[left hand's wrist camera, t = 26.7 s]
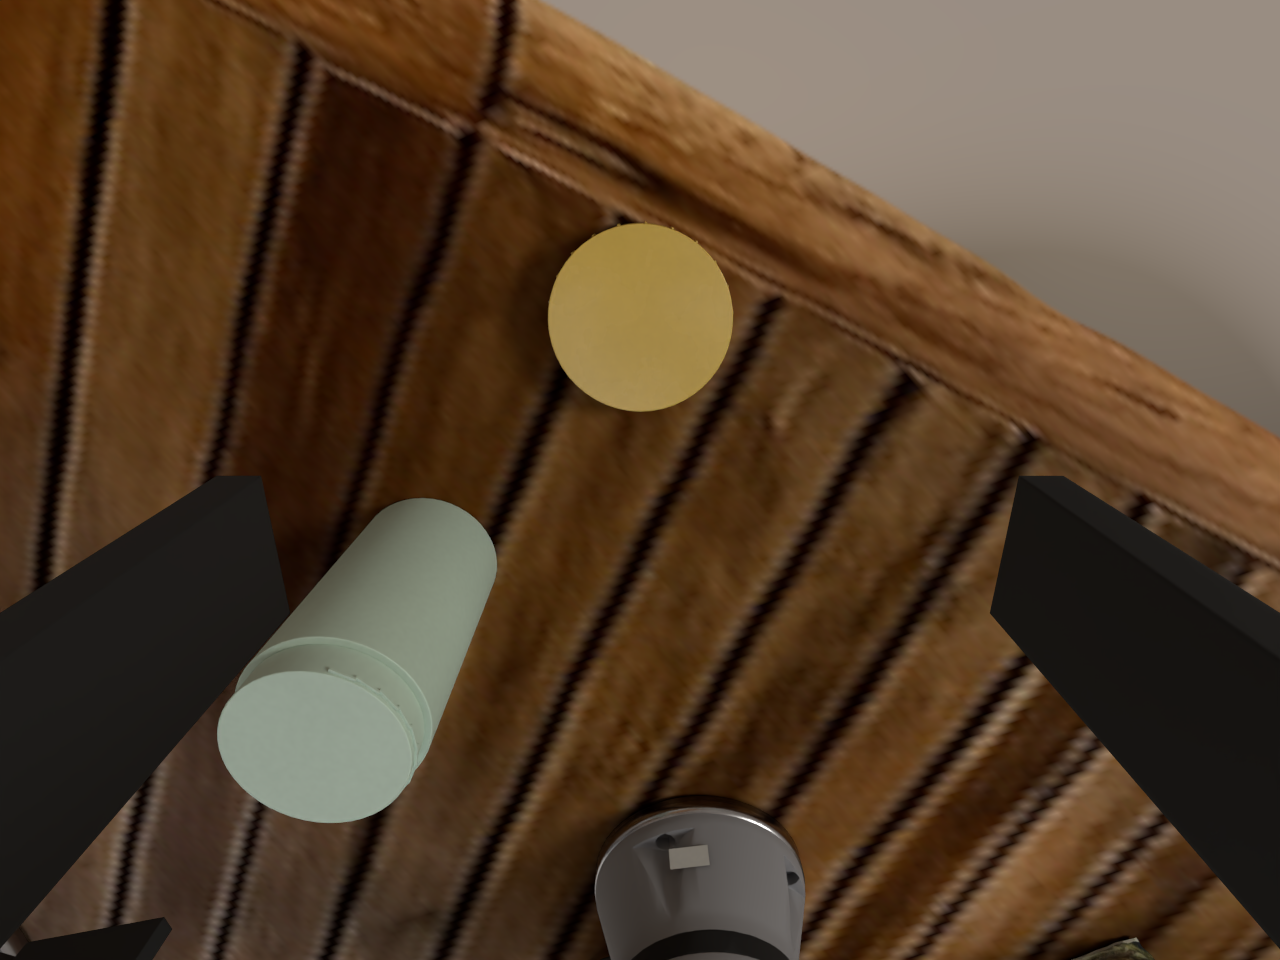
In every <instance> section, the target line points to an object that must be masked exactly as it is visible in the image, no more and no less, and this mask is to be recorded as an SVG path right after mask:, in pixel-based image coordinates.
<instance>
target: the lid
mask: <svg viewBox="0 0 1280 960" xmlns="http://www.w3.org/2000/svg"><path fill="white" fill-rule="evenodd" d="M697 243H698V241H696V240H695V239H694V240H692V239H691V238H689V237H687V236H686V235H684V234H682V233H680V232H678V231H676V230H674V228H673V227H670V228H668V227H666V226H662V225H657V224H651V223H647V221H645V223H629V224H624V225H620V224H617V226H615V227H613V228H610V229H607V230H605V231H603V232H601V233H599V234H597V235H596V234H593V235H592V238H591V239H589V240H588V241H586V242H585V243H583V244H582V245H581V246H580V247H579V248H578V249H577V250H576V251H575V250H574V251H573V252H572V253H571V254H572V255H571V256H570V257H569V259H568V260H567V261H566V262H565V264H564V265H563V267H562V269H561V270H560V272H559V273H558V274H557V275H556V277H557V278H556V281H555V283H554V285H553V289H552V292H551V295H550V300H549V301H548V303H549V307H548V330H549V335H550V339H551V343H552V347H553V349H554V352H555V355H556V357H557V359H558V361H559V363H560V365H561V367H562V368H563V370H564V371H565V372H566V374H567V375H568V377H569V378H570V379H571V380H572V381H573V382H574V383H575V384H576V386H578V387H579V388H580V389H581V390H582V391H583V392H585V393H586V394H587V395H589V396H590V397H592V398H594V399H595V400H597V401H599V402H601V403H603V404H605V405H608V406H611V407H614V408H617V409H622V410H627V411H639V412H640V411H653V410H659V409H664V408H667V407H670V406H673V405H675V404H677V403H680V402H682V401H684V400H686V399H687V398H689V397H690V396H692V395H694V394H695V393H696V392H697V391H699V390H700V389H701V388H702V387H703V386H704V385H705V384H706V383H707V382H708V381H709V380H710V379H711V378H712V376H713V375H714V374H715V372H716V371H717V370H718V368H719V366H720V364H721V363H722V361H723V359H724V357H725V354H726V352H727V349H728V347H729V343H730V340H731V334H732V326H733V308H732V301H731V296H730V292H729V289H728V287H729V285H728V284H727V283H726V281H725V278H724V276H723V274H722V272H721V271H720V269H719V267H718V266H717V264H716V260H714V259H712V258H711V256H710V255H709V254H708V253H707V252H706V251H705V250H704V249H703V248H702V247H701V246H700V245H699V244H697Z"/></svg>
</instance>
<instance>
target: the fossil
mask: <svg viewBox="0 0 1280 960" xmlns="http://www.w3.org/2000/svg"><path fill="white" fill-rule="evenodd" d="M1073 960H1154V958H1153V957H1152V955H1151V954H1149V953H1148V952H1147V951H1146V950H1145V949H1144V948H1142V946H1141V945H1140V943H1139V941H1138V940H1137V938H1133V939H1128V940H1124V941H1120V942H1116V943H1113V944H1111V945H1109V946H1107V947H1104V948H1101V949H1098V950H1095V951H1093V952H1091V953H1088V954H1086V955H1084V956H1081V957H1079V958H1076V959H1073Z"/></svg>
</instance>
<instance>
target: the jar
mask: <svg viewBox="0 0 1280 960" xmlns="http://www.w3.org/2000/svg"><path fill="white" fill-rule="evenodd" d="M496 571H497V559H496V553H495V549H494V546H493V543H492V541H491V539H490V537H489V535H488V534H487V532H486V530H485V529H484V528H483V527H482V525H481V524H480V523H479V522H478V521H477V520H476V519H475V518H474V517H472V516H471V515H470V514H469V513H467V512H466V511H464V510H462V509H461V508H459V507H457V506H455V505H453V504H450V503H447V502H444V501H441V500H436V499H429V498H414V499H408V500H403V501H400V502H397V503H394V504H392V505H390V506H388V507H387V508H385V509H383V510H382V511H381V512H380V513H378V514H377V515H376V516H375V517H374V518H373V520H372V521H371V522H370V523H369V524H368V525H367V527H366V528H365V529H364V530H363V531H362V532H361V534H360V535H359V536H358V537H357V538H356V539H355V541H354V542H353V543H352V544H351V545H350V546H349V548H348V549H347V550H346V551H345V552H344V553H343V555H342V556H341V557H340V558H339V559H338V560H337V562H336V563H335V564H334V565H333V566H332V567H331V569H330V570H329V571H328V572H327V573H326V574H325V576H324V577H323V578H322V579H321V580H320V581H319V583H318V584H317V585H316V586H315V587H314V588H313V590H312V591H311V592H310V593H309V594H308V595H307V596H306V598H305V599H304V600H303V601H302V602H301V603H300V605H299V606H298V607H297V608H296V609H295V610H294V612H293V613H292V614H291V615H290V616H289V617H288V619H287V620H286V621H285V622H284V623H283V624H282V626H281V627H280V628H279V629H278V630H277V631H276V633H275V634H274V635H273V636H272V637H271V638H270V640H269V641H268V642H267V643H266V644H265V645H264V647H263V648H262V649H261V650H260V651H259V652H258V654H257V655H256V656H255V657H254V658H253V659H252V661H251V662H250V663H249V664H248V665H247V666H246V668H245V669H244V671H243V672H242V674H241V676H240V678H239V680H238V683H237V686H236V690H235V693H234V695H233V696H232V697H231V698H230V699H229V700H228V702H227V704H226V705H225V707H224V709H223V711H222V713H221V716H220V718H219V723H218V729H217V740H218V746H219V751H220V754H221V757H222V759H223V761H224V763H225V765H226V767H227V769H228V771H229V772H230V774H231V775H232V777H233V778H234V779H235V780H236V781H237V783H238V784H239V785H240V786H241V787H242V788H243V789H244V790H245V791H246V792H248V793H249V794H250V795H251V796H252V797H254V798H255V799H257V800H258V801H259V802H261V803H263V804H264V805H266V806H268V807H269V808H272V809H274V810H276V811H278V812H280V813H283V814H285V815H288V816H291V817H294V818H298V819H302V820H307V821H313V822H322V823H341V822H348V821H354V820H358V819H362V818H365V817H367V816H370V815H373V814H375V813H377V812H378V811H380V810H382V809H384V808H385V807H386V806H388V805H389V804H391V803H392V802H393V801H394V800H395V799H396V798H397V797H398V796H399V794H400V793H401V792H402V790H403V789H404V788H405V787H406V786H407V784H409V783H410V781H411V778H412V776H413V773H414V771H415V769H416V768H417V767H418V766H419V765H420V764H421V762H422V761H423V760H424V758H425V756H426V754H427V752H428V750H429V747H430V745H431V742H432V740H433V737H434V735H435V732H436V729H437V727H438V724H439V722H440V719H441V717H442V714H443V711H444V709H445V706H446V704H447V701H448V699H449V696H450V694H451V691H452V688H453V686H454V683H455V681H456V678H457V676H458V673H459V670H460V668H461V665H462V663H463V660H464V658H465V655H466V653H467V650H468V647H469V645H470V642H471V640H472V637H473V635H474V632H475V629H476V627H477V624H478V622H479V619H480V617H481V614H482V612H483V609H484V606H485V604H486V601H487V599H488V596H489V594H490V591H491V588H492V586H493V583H494V580H495V577H496Z"/></svg>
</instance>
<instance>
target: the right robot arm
mask: <svg viewBox="0 0 1280 960" xmlns="http://www.w3.org/2000/svg"><path fill="white" fill-rule="evenodd" d="M171 930H172V928H171V927H170V925H169V924H168V922H167V921H166V919H165V918H164V917H162V918H157V919H151V920H146V921H141V922H135V923H130V924H124V925H119V926H114V927H108V928H103V929H98V930H92V931H87V932H81V933H76V934H71V935H65V936H60V937H54V938H49V939H44V940H38V941H33V942H28V941H27V939H26V937H25V936H24V934H23V933H22V931H21V930H20V929H19V928H18V929H17V930H16V931H15V932H14V933H13V935H12V936H11V937H10V938H9V939H8V940H7V942H6V943H5V944H4V945H3V946H2V947H1V948H0V960H152V959H153V958H154V956H155V955H156V953H157V952H158V950H159V949H160V947H161V946H162V944H163V942H164V941H165V939H166V938H167V936H168V935H169V933H170V932H171Z"/></svg>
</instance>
